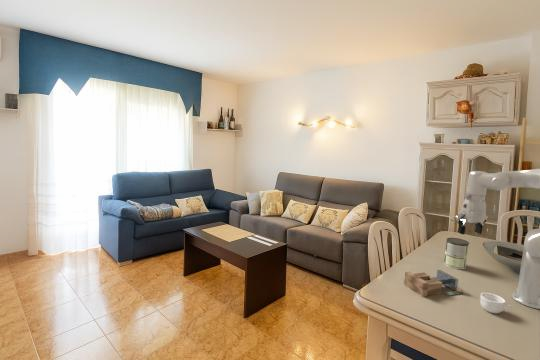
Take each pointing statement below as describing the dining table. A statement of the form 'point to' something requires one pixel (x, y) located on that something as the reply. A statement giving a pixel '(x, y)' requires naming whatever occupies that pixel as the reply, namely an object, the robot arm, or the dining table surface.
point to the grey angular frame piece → (446, 280)
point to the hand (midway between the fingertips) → (469, 233)
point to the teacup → (493, 303)
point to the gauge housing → (425, 284)
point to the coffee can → (456, 253)
